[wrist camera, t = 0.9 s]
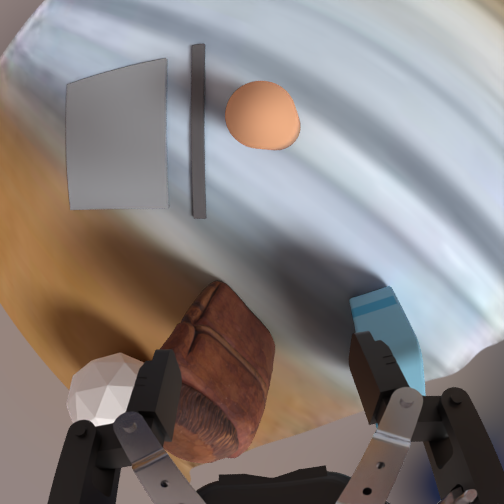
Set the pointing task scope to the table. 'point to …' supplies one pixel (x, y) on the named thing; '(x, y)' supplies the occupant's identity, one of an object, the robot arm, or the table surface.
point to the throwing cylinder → (262, 116)
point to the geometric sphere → (102, 389)
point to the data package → (390, 331)
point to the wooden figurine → (219, 376)
